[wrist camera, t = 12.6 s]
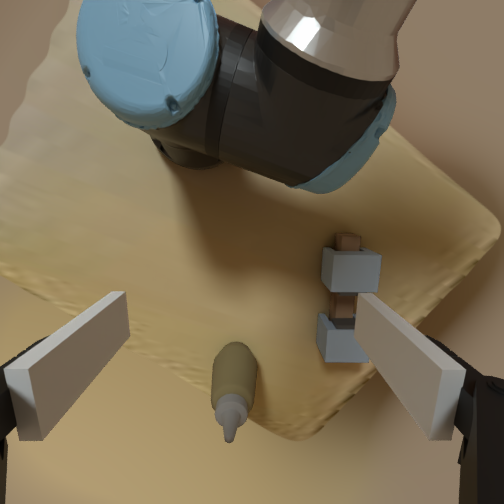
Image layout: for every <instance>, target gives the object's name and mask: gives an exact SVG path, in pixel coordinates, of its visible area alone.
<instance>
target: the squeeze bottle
mask: <svg viewBox="0 0 504 504" xmlns="http://www.w3.org/2000/svg"><path fill="white" fill-rule="evenodd" d="M256 377H257V362H256V359H255V357H254V356H253V354H252V352H251V351H250V349H249V348H248V346H246V345H245V344H243V343H240V342H231V343H229V344H227V345H226V346H225V347H224V348H223V349H222V350H221V351H220V352H219V354H218V355H217V356H216V357H215V359H214V363H213V372H212V389H211V403H212V408H213V409H214V410H215V418H216V421H217V422H218V423H219V424H220V425H221V426H223V430H224V438H225V441H226V442H227V443H231V442H233V440H234V437H235V434H236V430H237V428H238V427H240V426H242V425H243V424H244V423H245V422H246V420H247V416H248V413H249V411H250V410H251V409H252V406H253V403H254V396H255V386H256Z"/></svg>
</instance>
